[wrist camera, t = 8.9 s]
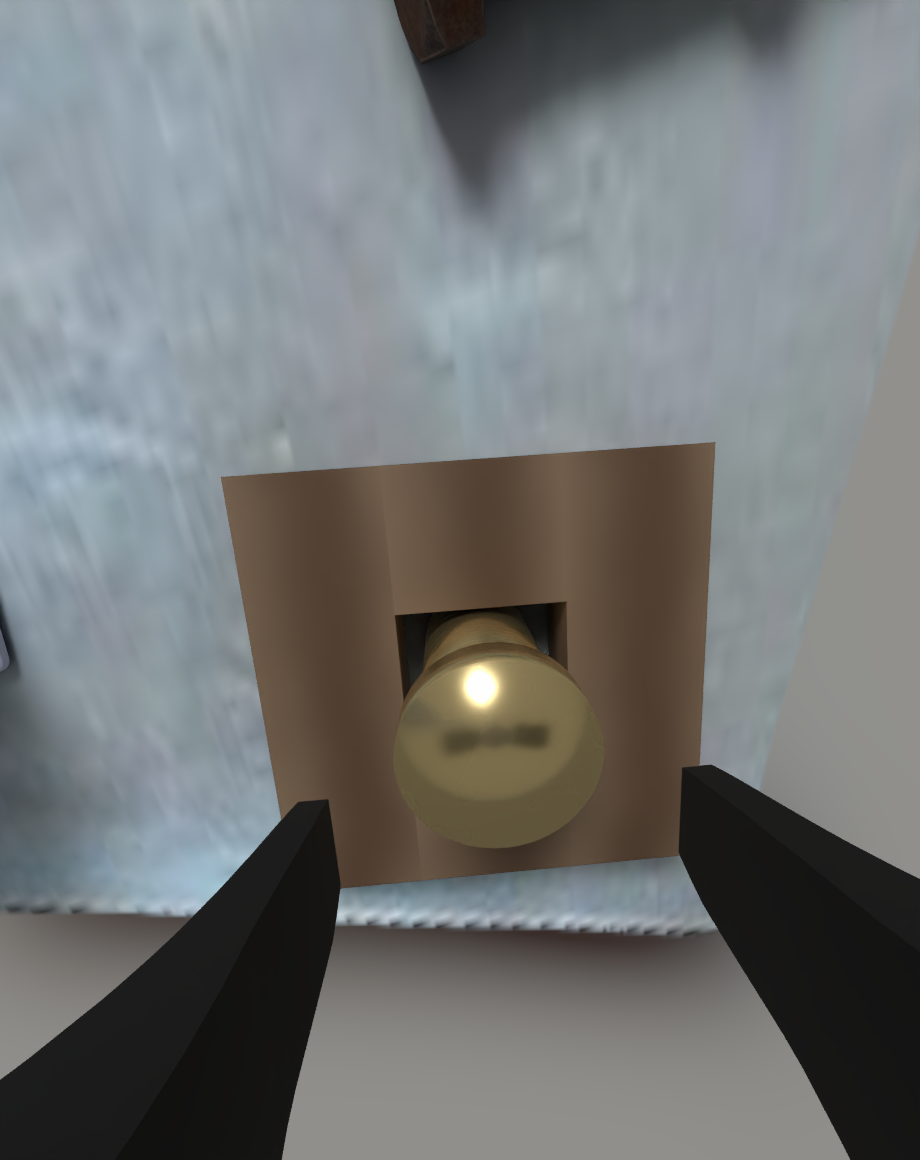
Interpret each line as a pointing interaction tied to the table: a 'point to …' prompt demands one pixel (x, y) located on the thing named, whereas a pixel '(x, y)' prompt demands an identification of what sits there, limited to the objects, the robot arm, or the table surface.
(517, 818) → the brass pin
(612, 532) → the socket plate
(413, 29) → the bolt
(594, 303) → the table surface
